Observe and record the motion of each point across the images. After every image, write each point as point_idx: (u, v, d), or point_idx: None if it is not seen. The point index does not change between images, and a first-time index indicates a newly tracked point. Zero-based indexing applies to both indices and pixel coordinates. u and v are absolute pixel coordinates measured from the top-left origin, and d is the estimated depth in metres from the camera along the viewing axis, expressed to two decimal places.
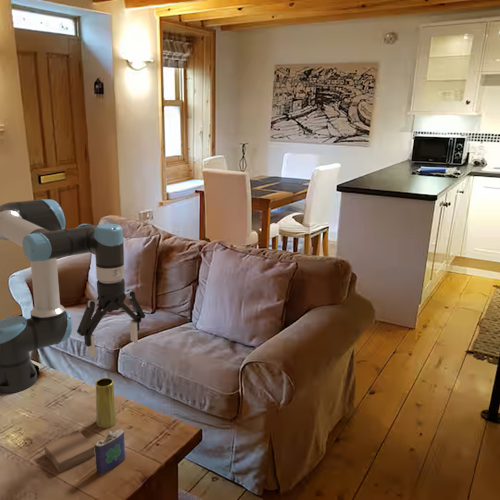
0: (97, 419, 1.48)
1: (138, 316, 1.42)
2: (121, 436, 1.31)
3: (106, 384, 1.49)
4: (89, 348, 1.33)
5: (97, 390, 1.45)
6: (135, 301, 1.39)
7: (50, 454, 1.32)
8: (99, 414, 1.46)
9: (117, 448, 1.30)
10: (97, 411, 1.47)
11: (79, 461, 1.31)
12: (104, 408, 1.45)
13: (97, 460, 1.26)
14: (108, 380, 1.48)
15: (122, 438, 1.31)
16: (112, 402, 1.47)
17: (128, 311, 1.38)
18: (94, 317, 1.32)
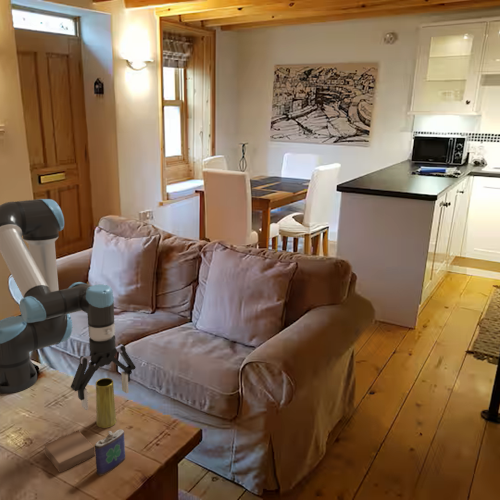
0: (97, 419, 1.48)
1: (129, 368, 1.50)
2: (121, 436, 1.31)
3: (106, 384, 1.49)
4: (82, 401, 1.42)
5: (97, 390, 1.45)
6: (125, 354, 1.48)
7: (50, 454, 1.32)
8: (99, 414, 1.46)
9: (117, 448, 1.30)
10: (97, 411, 1.47)
11: (79, 461, 1.31)
12: (104, 408, 1.45)
13: (97, 460, 1.26)
14: (108, 380, 1.48)
15: (122, 438, 1.31)
16: (112, 402, 1.47)
17: (119, 364, 1.47)
18: (87, 372, 1.41)
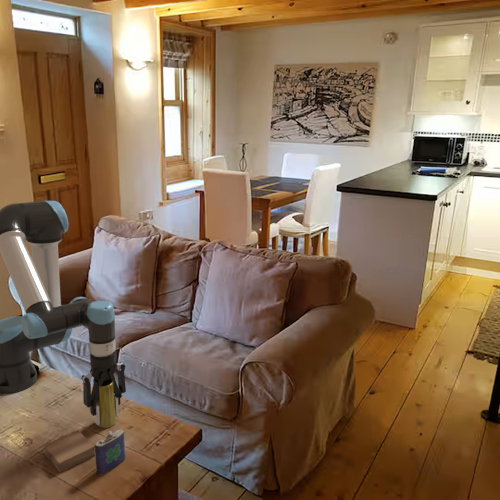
0: None
1: None
2: (121, 436, 1.31)
3: (106, 384, 1.49)
4: (94, 416, 1.47)
5: None
6: (122, 374, 1.49)
7: (50, 454, 1.32)
8: (99, 414, 1.46)
9: (117, 448, 1.30)
10: None
11: (79, 461, 1.31)
12: (104, 408, 1.45)
13: (97, 460, 1.26)
14: (108, 380, 1.48)
15: (122, 438, 1.31)
16: (112, 402, 1.47)
17: (114, 384, 1.47)
18: (93, 389, 1.44)
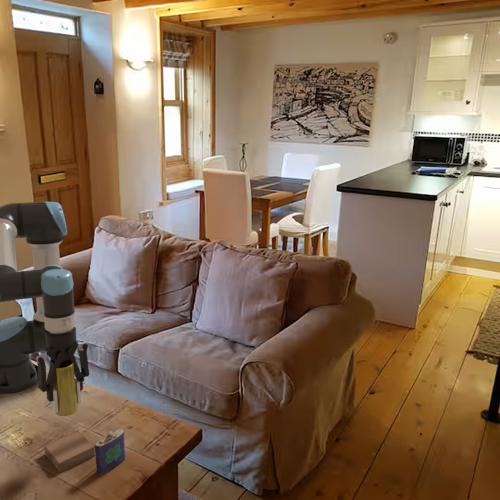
0: None
1: None
2: (121, 436, 1.31)
3: (66, 366, 1.30)
4: (52, 403, 1.28)
5: None
6: (85, 355, 1.30)
7: (50, 454, 1.32)
8: (57, 400, 1.27)
9: (117, 448, 1.30)
10: None
11: (79, 461, 1.31)
12: (63, 393, 1.27)
13: (97, 460, 1.26)
14: (68, 361, 1.29)
15: (122, 438, 1.31)
16: (72, 387, 1.28)
17: (74, 366, 1.28)
18: (50, 371, 1.25)
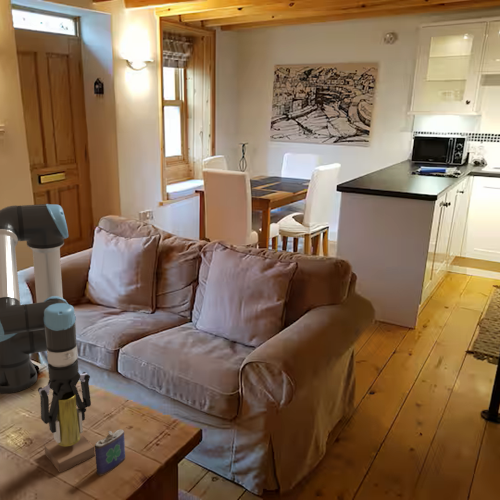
0: None
1: (83, 405, 1.34)
2: (121, 436, 1.31)
3: (68, 397, 1.32)
4: (54, 433, 1.30)
5: None
6: (87, 386, 1.33)
7: (50, 454, 1.32)
8: None
9: (117, 448, 1.30)
10: None
11: (79, 461, 1.31)
12: (65, 424, 1.29)
13: (97, 460, 1.26)
14: (70, 392, 1.32)
15: (122, 438, 1.31)
16: (74, 417, 1.31)
17: (76, 397, 1.31)
18: (52, 403, 1.28)
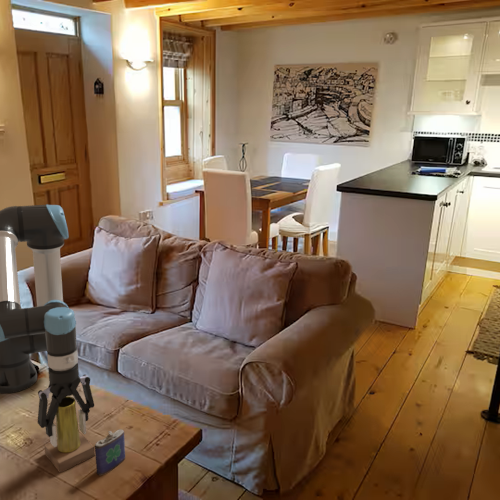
0: (58, 443, 1.32)
1: (86, 406, 1.35)
2: (121, 436, 1.31)
3: (68, 403, 1.33)
4: (51, 437, 1.30)
5: (57, 411, 1.29)
6: (88, 388, 1.33)
7: (50, 454, 1.32)
8: (59, 437, 1.30)
9: (117, 448, 1.30)
10: (57, 434, 1.31)
11: (79, 461, 1.31)
12: (65, 431, 1.30)
13: (97, 460, 1.26)
14: (70, 399, 1.32)
15: (122, 438, 1.31)
16: (74, 424, 1.31)
17: (78, 399, 1.32)
18: (51, 406, 1.28)
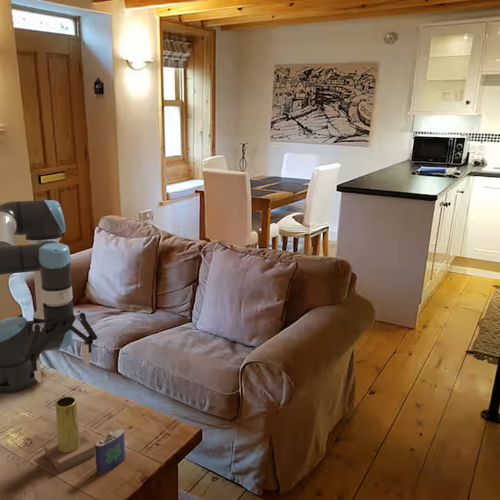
0: (58, 443, 1.32)
1: (90, 338, 1.36)
2: (121, 436, 1.31)
3: (68, 403, 1.33)
4: (35, 372, 1.28)
5: (57, 411, 1.29)
6: (86, 323, 1.33)
7: (50, 454, 1.32)
8: (60, 437, 1.31)
9: (117, 448, 1.30)
10: (58, 434, 1.31)
11: (79, 461, 1.31)
12: (65, 431, 1.30)
13: (97, 460, 1.26)
14: (71, 399, 1.33)
15: (122, 438, 1.31)
16: (75, 424, 1.31)
17: (78, 333, 1.32)
18: (40, 341, 1.26)
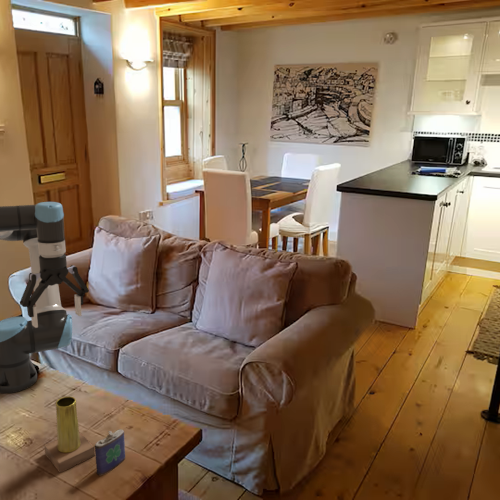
0: (58, 443, 1.32)
1: (82, 290, 1.50)
2: (121, 436, 1.31)
3: (69, 403, 1.33)
4: (32, 319, 1.42)
5: (57, 411, 1.29)
6: (78, 276, 1.47)
7: (50, 454, 1.32)
8: (60, 437, 1.31)
9: (117, 448, 1.30)
10: (58, 434, 1.31)
11: (79, 461, 1.31)
12: (65, 431, 1.30)
13: (97, 460, 1.26)
14: (71, 399, 1.33)
15: (122, 438, 1.31)
16: (75, 424, 1.31)
17: (71, 285, 1.46)
18: (36, 290, 1.41)
